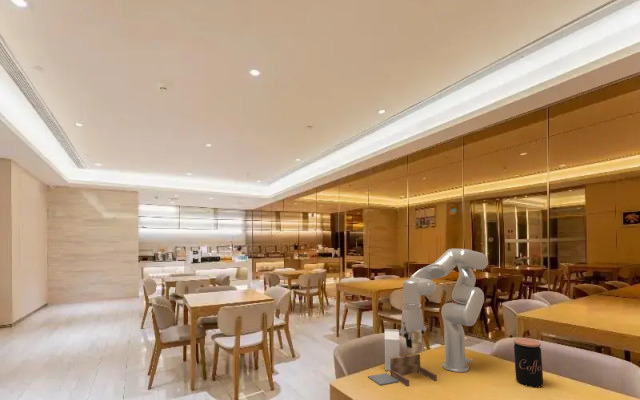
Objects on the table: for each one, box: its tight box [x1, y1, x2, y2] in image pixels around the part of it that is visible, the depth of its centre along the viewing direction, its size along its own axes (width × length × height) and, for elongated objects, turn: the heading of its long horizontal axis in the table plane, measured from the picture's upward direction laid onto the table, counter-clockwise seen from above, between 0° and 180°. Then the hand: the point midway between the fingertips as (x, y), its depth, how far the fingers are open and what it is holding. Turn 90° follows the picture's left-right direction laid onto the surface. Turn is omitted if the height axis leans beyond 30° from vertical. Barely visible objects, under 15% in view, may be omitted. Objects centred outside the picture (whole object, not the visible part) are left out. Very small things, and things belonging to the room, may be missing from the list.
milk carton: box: [384, 328, 401, 372], centre depth 174 cm, size 7×7×19 cm
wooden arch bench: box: [390, 353, 438, 387], centre depth 161 cm, size 16×13×8 cm
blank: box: [406, 330, 423, 355], centre depth 163 cm, size 5×5×10 cm
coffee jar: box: [513, 337, 544, 388], centre depth 157 cm, size 11×11×18 cm
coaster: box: [367, 372, 400, 386], centre depth 159 cm, size 10×10×1 cm
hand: (414, 345), depth 163 cm, fingers closed on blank, 5 cm apart
